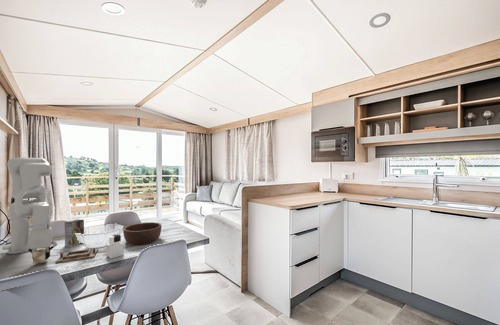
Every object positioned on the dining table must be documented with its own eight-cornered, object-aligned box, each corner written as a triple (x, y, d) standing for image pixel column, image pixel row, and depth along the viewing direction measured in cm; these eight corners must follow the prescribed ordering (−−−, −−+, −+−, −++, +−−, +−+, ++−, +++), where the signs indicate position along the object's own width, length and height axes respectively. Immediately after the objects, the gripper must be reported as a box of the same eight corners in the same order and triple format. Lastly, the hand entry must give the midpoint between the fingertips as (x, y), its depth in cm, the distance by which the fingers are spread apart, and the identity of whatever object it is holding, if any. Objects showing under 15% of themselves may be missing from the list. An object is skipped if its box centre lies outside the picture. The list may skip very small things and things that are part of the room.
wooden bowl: (169, 237, 173) (169, 224, 173) (140, 249, 151) (140, 233, 151) (144, 234, 184) (144, 220, 184) (114, 244, 161) (114, 229, 161)
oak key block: (32, 263, 126) (33, 252, 126) (39, 258, 133) (39, 247, 133) (43, 262, 128) (43, 251, 128) (49, 256, 135) (49, 246, 135)
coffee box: (76, 241, 167) (76, 219, 167) (84, 242, 165) (84, 219, 165) (64, 246, 158) (64, 222, 158) (72, 246, 156) (72, 222, 156)
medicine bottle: (119, 252, 145) (118, 233, 145) (123, 255, 141) (123, 235, 141) (106, 255, 140) (106, 235, 140) (111, 258, 135) (110, 238, 135)
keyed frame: (55, 263, 130) (55, 257, 130) (62, 255, 141) (62, 249, 141) (93, 257, 137) (93, 251, 137) (97, 250, 149) (97, 244, 149)
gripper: (18, 230, 123) (18, 264, 123) (58, 226, 130) (58, 259, 130) (24, 226, 130) (24, 259, 130) (62, 223, 137) (62, 254, 137)
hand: (41, 259), depth 130 cm, fingers closed on oak key block, 4 cm apart
